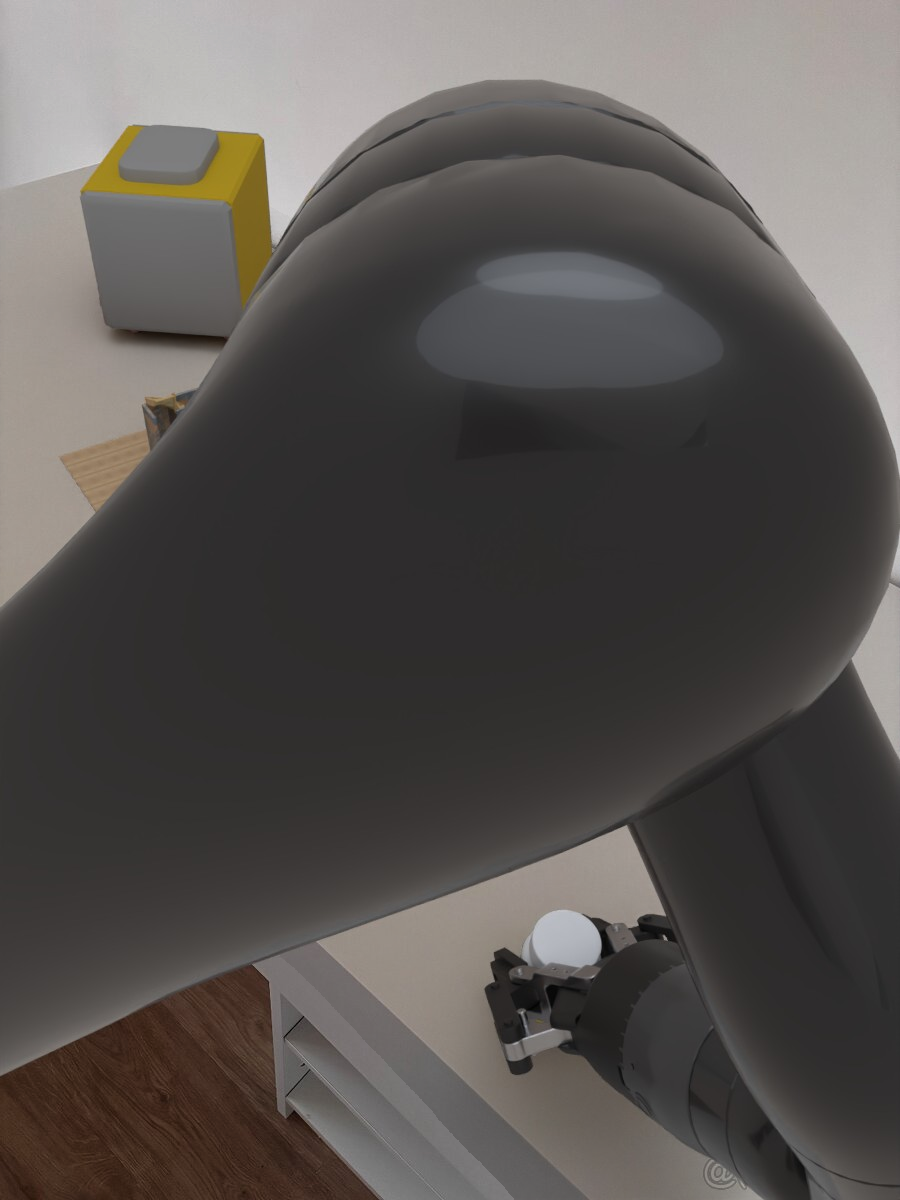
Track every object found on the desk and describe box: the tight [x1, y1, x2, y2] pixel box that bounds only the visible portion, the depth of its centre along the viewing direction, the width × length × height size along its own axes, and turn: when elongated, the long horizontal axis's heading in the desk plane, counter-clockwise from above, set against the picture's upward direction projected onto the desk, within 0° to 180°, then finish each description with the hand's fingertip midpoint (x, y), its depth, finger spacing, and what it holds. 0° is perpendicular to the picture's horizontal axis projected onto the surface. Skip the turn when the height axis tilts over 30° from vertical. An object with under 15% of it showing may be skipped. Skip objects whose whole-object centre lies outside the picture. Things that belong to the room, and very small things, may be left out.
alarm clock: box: [79, 123, 273, 341], centre depth 117 cm, size 20×16×18 cm
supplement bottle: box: [519, 909, 602, 1023], centre depth 63 cm, size 5×5×8 cm
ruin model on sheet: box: [58, 387, 198, 513], centre depth 100 cm, size 25×16×10 cm, turn 124°
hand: (541, 948), depth 64 cm, fingers closed on supplement bottle, 4 cm apart
